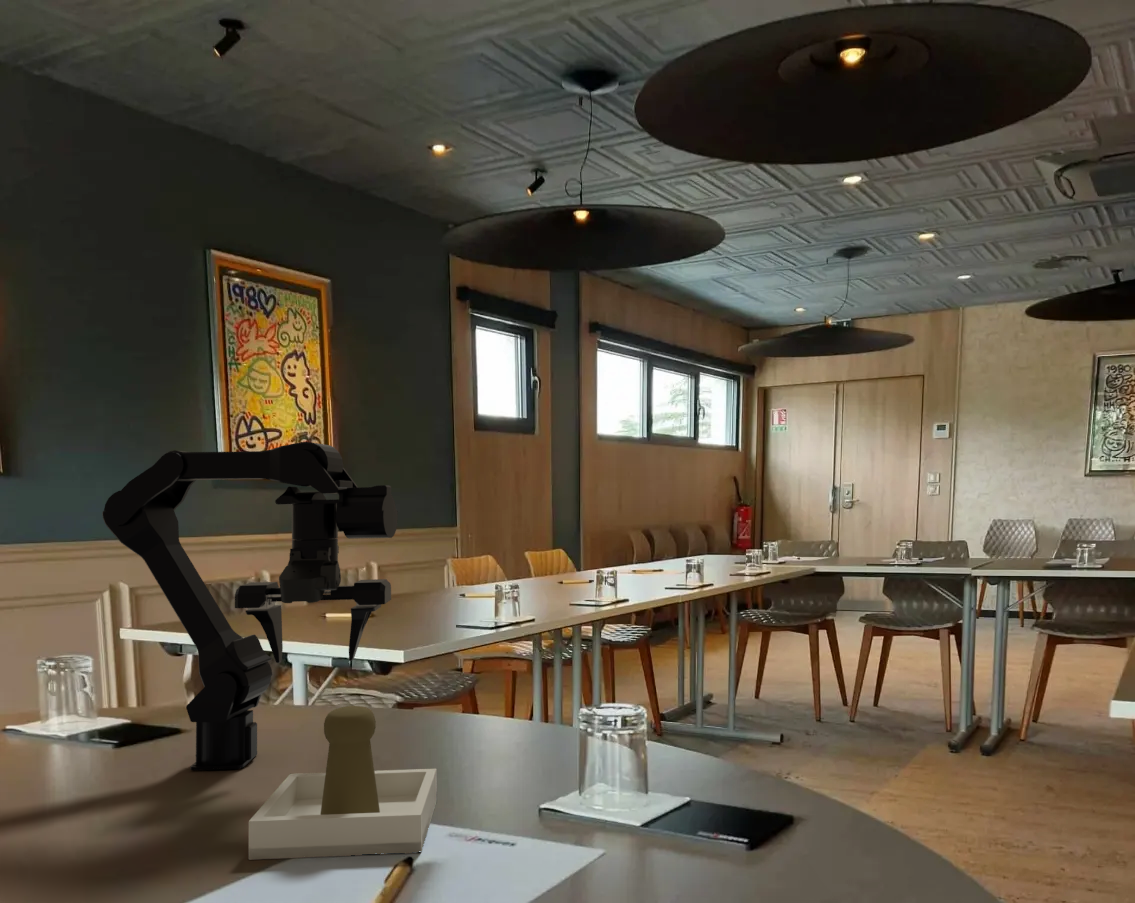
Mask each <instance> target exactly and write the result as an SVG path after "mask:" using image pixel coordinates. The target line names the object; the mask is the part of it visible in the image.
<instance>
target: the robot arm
mask: <svg viewBox="0 0 1135 903" xmlns="http://www.w3.org/2000/svg"><path fill="white" fill-rule="evenodd" d="M198 480H199V481H200V480H206V481H207V480H211V481H212V480H269V481H273V482H277V483H281V484H288V485H292V486H287V488H286V489H285V491H284V492H283V493H282V494H281V495H279V496H278V497H277V498H276V499H275V501H274V502H275V504H276V505H281V506H282V505H286V506H287V505H288V506H289V505H291V548H289V560H288V562H287V565H286V566H285V567H284V569H283V570H282V571H281V573H280V575H279V577H278V580H279V583H278V581H263V582H262V581H261V582H260V581H259V582H258V581H257V582H256V581H255V582H248V583H244V584H241V585H239V587H238V588H237V589H236V590H235V592H234V593H235V594H234V609H247V610H245V614H246V615H247V616H253V617H254V618H255V619H256V620H257V621H258V622H259V624H260V626H261V628H262V629H263V631H264V634H265V636H266V638H267V642H268V645H269V647H270V649H271V653H272V655H273V658H274V660H275V663H277V664H280V663H281V662H282V661H283V660H282V659H283V649H284V648H283V647H284V646H283V645H284V644H283V617H282V614H283V613H282V605H281V604H276V603H277V602H282V603H284V604H292V603H293V602H294V603H295V602H296V603H298V602H306V603H309V604H314V603H317V602H318V603H319V601H346V600H347V601H349V600H350V601H351V600H353V601H354V603H355V604H356V605H355V606H353V607H351V608H350V617H351V618H350V619H351V621H350V622H351V623H350V633H349V642H348V661H350V662H352V661H354V660H355V656H356V653H357V652H358V651H357V650H358V647H359V645H360V642H361V639H362V636H363V632H364V631H365V628H366V625H367V623H368V621H369V619H370V616H371V614H372V613H373V612H376V611H377V610H379V609H380V608H381V607H382V605H385V604H387V603H388V602H390V601H391V600H392V585H391V582H390V580H389V581H388V579H386V578H382V579H360V580H357V581H355V582H354V583H353V585H340V584H341V581H342V580H341V579H342V575H341V574H342V573H341V568H340V563H339V554H340V551H339V550H340V549H339V548H340V547H339V536H338V535H339V532H343V535H344V536H345V537H346V539H392V538H393V537H394V536H395V534H396V531H397V528H398V520H399V519H398V518H399V516H398V515H399V513H398V510H397V508H396V502H395V499H394V498H395V497H393V495H392V486H391V485H386V484H384V485H382V484H380V485H379V484H378V485H373V486H368V487H366V486H363V487H362V486H360V487H359V486H358V485H357V484H356V482H355V481H354V480H353V478H352V477H351V475H350V474H349V473H348V471H347V470H346V469H345V467H344V459H343V457H342V455H341V453H340V451H338V449H337V448H335V447H334V446H332V445H331V444H329V445H328V444H324V443H323V444H322V443H318V442H317V443H316V442H311V441H300V442H294V443H290V444H285V445H281V446H277V447H273V448H270V449H267V450H262V451H261V450H260V451H259V450H258V451H257V450H255V451H251V450H250V451H248V450H247V451H184V450H175V449H174V450H169V451H167V452H166V453H164V454H163V455H161V457H160V458H159V459H158V460H157V461H156V462H155V463H154V464H153V465H152V466H150V467H149V468H147V469H146V470H144V471H143V472H142V473H141V472H140V474H138V475H136V476H135V477H134V478H132V479H130V481H128V482H127V483H126V484H125V485H124V487H122V489H120V490H118V491H116V492H113V493H112V494H111V495H110V496H109V497H107V500H106V502H105V504H104V509H103V511H102V513H101V514H102V519H103V522H104V524H105V526H106V527H107V528H108V529H109V530H110V532H111V534H113V535H114V536H115V538H116V539H117V541H119V542H120V543H121V544H122V545H123V546H125V547H126V548H128V549H129V550H130V551H132V552H133V553H135V554H136V555H138V556H139V557H140V558H141V559H142V560H143V561H144V563H145V564H146V566H147V567H148V569H149V571H150V573H151V574H152V576H153V577H154V580H155V581H156V583H157V584H158V586H159V588H160V589H161V591H162V593H163V594H164V595H165V596H164V597H165V598H166V599H167V601H168V603H169V605H170V606H171V608H172V610H173V611H174V613H175V614H176V616H177V618H178V620H179V621H180V623H181V625H182V626H183V628H184V629H185V632H186V633H187V635H188V636H189V638H190V640H191V641H192V643H193V645H194V646H195V648H196V650H197V653H198V654H197V655H198V656H197V658H198V673H199V674H198V675H199V677H200V679H201V682H202V685H203V688H202V689H201V690H200V691H199V692H198V693H197V694H196V695H195V696H194V697H193V698H192V700H190V701H189V703H188V704H187V705H186V706H185V707H186V711H187V714H188V719H189V721H190V722H191V723H195V762H194V763H192V764H191V765H190V771H208V770H209V771H210V770H211V771H212V770H213V771H214V770H234V769H235V770H237V769H242V768H244V767H245V766H246V765H248V764H249V763H250V762H251V761H252V760H253V759H254V758H255V757H257V755H258V723H257V722H256V721H254V710H252V709H253V708H256V707H258V705H259V702H260V699H261V696H262V695H263V694H264V693H265V692H266V691H267V690H268V688H269V687H270V684H271V680H272V677H273V669H272V667H271V664H270V663H269V661H272V657H271V656H269V655H268V654H267V653H266V651H265V650H264V648H263V647H262V645H261V641H260V639H259V638H258V636H257V635H256V634H251V635H248V636H245V637H243V636H241V635H240V634H238V633H237V632H236V631H235V630H234V629H233V628H232V626H231V625H230V623H229V621H228V619H226V617H225V615H224V614H223V611H222V610H221V609H220V606H219V605H218V603H217V602H216V600H215V598H214V597H213V595H212V593H211V592H210V591H209V588H208V587H207V585H206V584H205V582H204V580H203V578H202V577H201V575H200V574H199V572H198V570H197V568H196V567H195V565H194V564H193V562H192V560H191V559H190V557H189V556H188V554H187V553H186V551H185V549H184V547H183V545H182V544H181V542H180V535H179V534H180V533H179V531H180V530H179V520H178V517H177V515H176V513H175V510H176V509H177V508H179V506H180V505H181V504H182V503H183V502H184V500H185V499H186V497H187V495H188V493H189V491H190V489H191V487H192V485H193V484H194V483H195V482H196V481H198ZM293 485H294V486H293ZM298 486H299V487H308V488H309V487H312V488H313V489H315V490H316V491H301V490H300V489H299V488H298ZM325 494H326V495H327V494H328V495H329V494H331V495H336V494H338V498H337V499H327V498H326V496H325Z"/></svg>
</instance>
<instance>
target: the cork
mask: <svg viewBox="0 0 1135 903" xmlns="http://www.w3.org/2000/svg"><path fill="white" fill-rule="evenodd" d="M376 723H377V721H376V718H375V713H374V712H373V711H372V709H371V708H369V707H366V706H359V705H349V706H343V707H339V708H335V709H333V710H331V711H330V712H328V713H327V715H326V717H325V718H324V722H323V734H324V737H325V739H326V741H327V742H328V745H329V746H328V753H327V761H326V767H325V773H326V775H325V783H324V790H323V798H322V806H321V814H320V815H329V814H355V813H380V809H379V802H378V794H377V787H376V779H375V772H374V771H375V765H374V757H373V752H372V744H371V739H372V738H373V736H374V735H375V732H376V731H375V730H376V727H377V726H376V725H377V724H376Z"/></svg>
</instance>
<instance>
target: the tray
mask: <svg viewBox="0 0 1135 903" xmlns="http://www.w3.org/2000/svg"><path fill="white" fill-rule="evenodd" d="M437 771H438V770H437V768H417V769H416V768H415V769H414V768H413V769H412V768H411V769H387V770H374V772H375V779H376V787H377V794H378V802H379V809H380V813H355V814H329V815H320V814H321V806H322V798H323V790H324V783H325V775H326V772H303V773H298V772H297V773H290V774H289V775H287V777H286V778H285V779H284V780H283V782H281V783H280V785H279V786H278V787H277V789H276V790H274V792H273V793H272V794H271V795H270V796H269V797H268V799H266V801H265V802H264V803H263V804H262V805H261V806H260V808H259V809H257V811H256V812H255V813H254V814H253V815H252V816H251V818H250V819H249V821H248V861H249V860H254V861H255V860H276V859H278V860H279V859H299V858H301V859H303V858H324V857H325V858H326V857H327V858H328V857H329V858H330V857H348V856H349V857H352V856H351V855H355V856H363V855H362V854H375V853H377V854H380V855H382V854H381V853H384V854H383V855H387V854H386V853H405V854H413V853H412V852H419V851H423V849H422V847H423V848H424V845H423V844H425V842H424V841H426V839H425V838H427V836H428V832H429V829H430V825H431V821H432V818H433V815H434V811H435V808H436V806H437V805H436V804H437V801H438V794H437V793H438V791H437V790H438V788H437V787H438V785H437V784H438V782H437V781H438V780H437V779H438V777H437V776H438V775H437ZM428 828H429V829H428Z"/></svg>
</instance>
